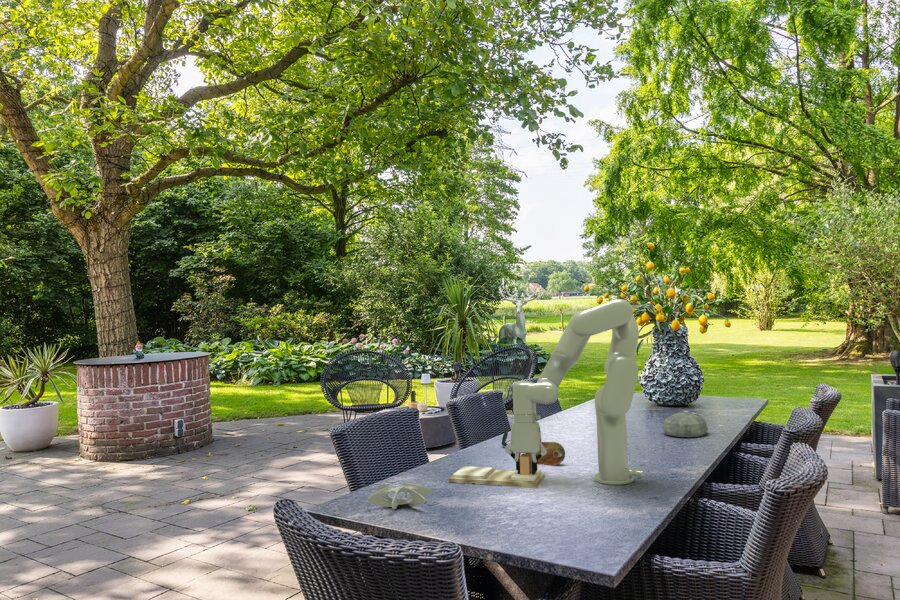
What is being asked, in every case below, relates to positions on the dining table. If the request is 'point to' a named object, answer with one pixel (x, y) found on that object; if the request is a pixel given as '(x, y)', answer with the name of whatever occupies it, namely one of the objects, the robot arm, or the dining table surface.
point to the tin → (551, 454)
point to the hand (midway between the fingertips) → (526, 472)
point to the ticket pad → (491, 477)
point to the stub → (525, 469)
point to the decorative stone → (685, 425)
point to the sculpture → (407, 487)
